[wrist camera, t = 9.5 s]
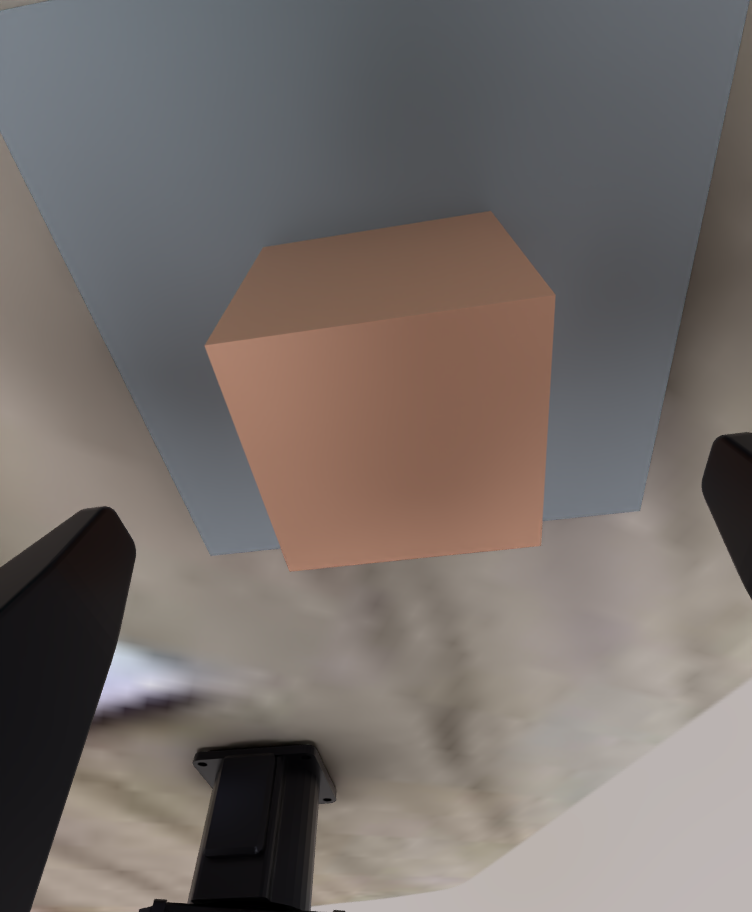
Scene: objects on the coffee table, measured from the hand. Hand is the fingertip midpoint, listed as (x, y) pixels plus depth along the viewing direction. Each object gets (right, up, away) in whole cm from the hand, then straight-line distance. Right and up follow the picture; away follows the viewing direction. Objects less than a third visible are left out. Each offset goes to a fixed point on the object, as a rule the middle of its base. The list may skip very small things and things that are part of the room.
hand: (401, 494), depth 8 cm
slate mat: (0, +4, +5) cm, 7 cm away
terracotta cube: (0, +3, +5) cm, 6 cm away
